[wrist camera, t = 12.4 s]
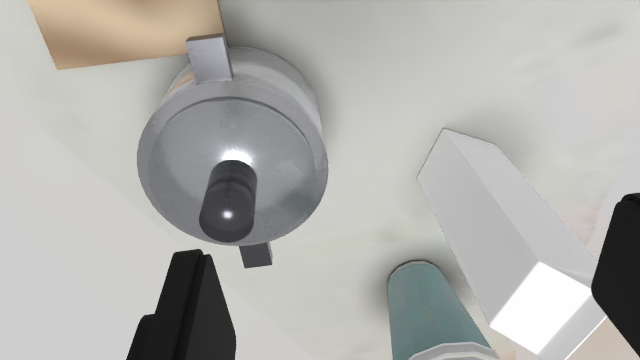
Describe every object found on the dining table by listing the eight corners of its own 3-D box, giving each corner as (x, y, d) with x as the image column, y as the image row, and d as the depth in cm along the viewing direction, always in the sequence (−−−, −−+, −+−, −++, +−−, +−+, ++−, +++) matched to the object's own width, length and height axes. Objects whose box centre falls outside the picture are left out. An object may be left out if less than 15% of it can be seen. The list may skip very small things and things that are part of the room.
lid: (127, 108, 30) (95, 150, 25) (304, 85, 30) (309, 122, 25) (177, 245, 36) (160, 300, 31) (323, 225, 36) (330, 278, 31)
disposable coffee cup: (454, 237, 50) (513, 350, 37) (461, 301, 56) (515, 419, 43) (362, 259, 51) (389, 378, 38) (378, 320, 56) (407, 442, 44)
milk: (415, 178, 46) (505, 369, 27) (443, 126, 43) (565, 300, 24) (467, 192, 47) (587, 384, 28) (497, 143, 44) (653, 320, 25)
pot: (133, 22, 36) (91, 55, 28) (306, 1, 36) (313, 27, 28) (194, 217, 46) (177, 281, 38) (329, 200, 46) (338, 260, 38)
